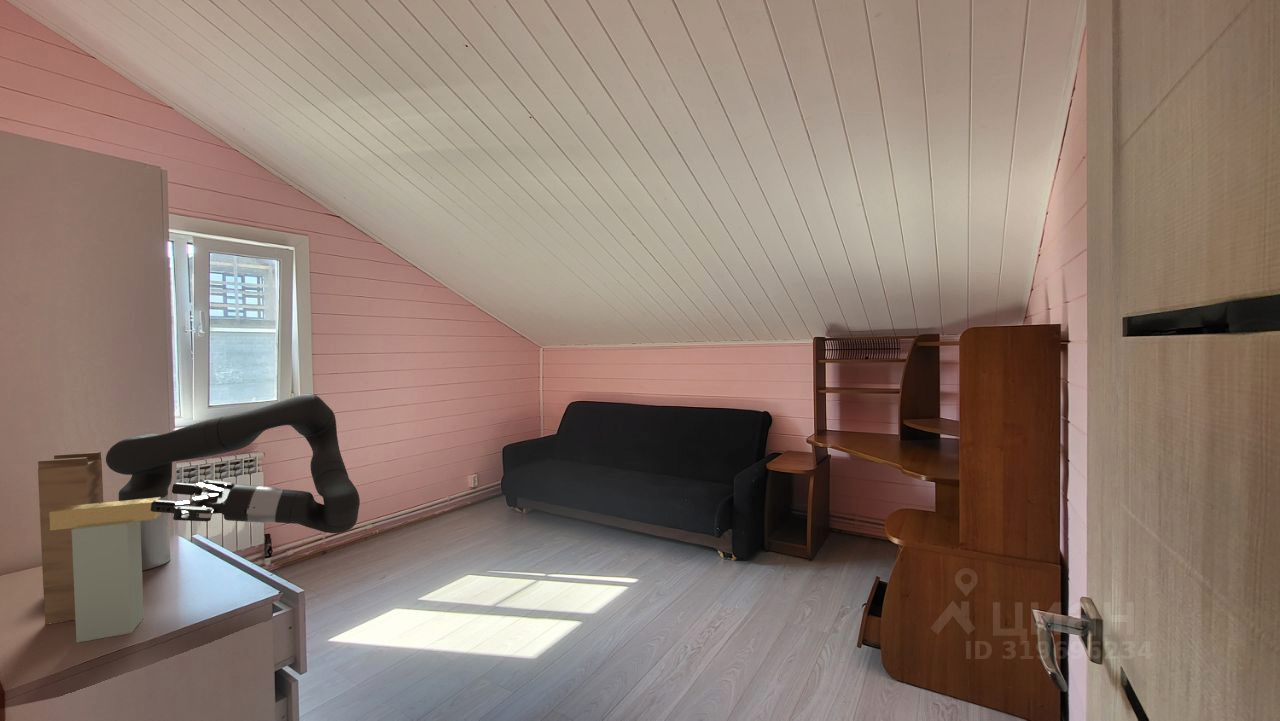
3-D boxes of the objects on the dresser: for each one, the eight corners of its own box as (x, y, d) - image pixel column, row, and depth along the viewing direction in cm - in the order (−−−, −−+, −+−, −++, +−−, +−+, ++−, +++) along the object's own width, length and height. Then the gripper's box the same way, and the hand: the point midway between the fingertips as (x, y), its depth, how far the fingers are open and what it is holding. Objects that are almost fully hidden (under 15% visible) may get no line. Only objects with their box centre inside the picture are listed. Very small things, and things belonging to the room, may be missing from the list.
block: (92, 627, 107) (87, 519, 106) (143, 618, 111) (139, 514, 110) (76, 642, 102) (71, 529, 101) (131, 633, 105) (127, 523, 104)
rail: (60, 524, 104) (59, 506, 103) (161, 513, 110) (160, 497, 110) (50, 530, 101) (49, 512, 100) (154, 519, 107) (154, 502, 107)
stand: (64, 608, 114) (57, 454, 113) (107, 601, 117) (101, 451, 116) (45, 624, 108) (37, 461, 106) (91, 617, 111) (84, 458, 109)
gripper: (269, 474, 121) (181, 466, 115) (247, 501, 107) (147, 493, 102) (263, 505, 121) (176, 498, 115) (241, 536, 108) (141, 530, 102)
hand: (162, 496), depth 109 cm, fingers open, 8 cm apart
